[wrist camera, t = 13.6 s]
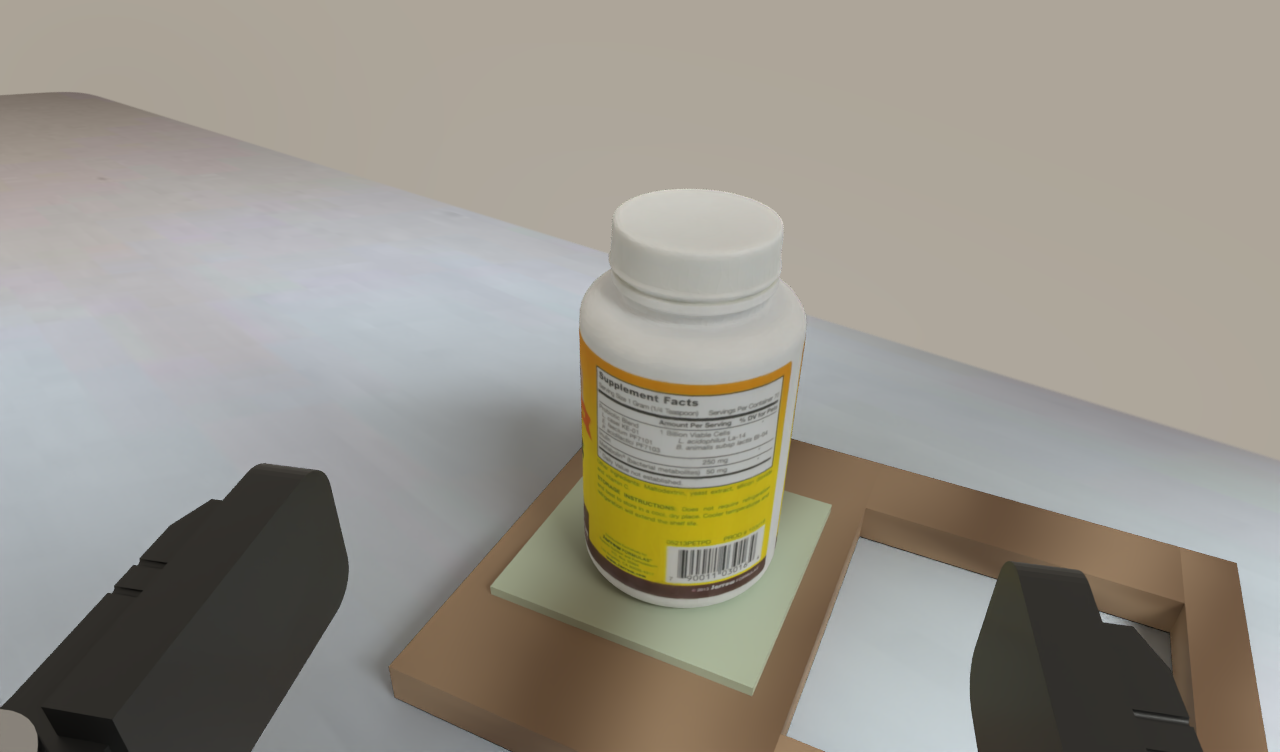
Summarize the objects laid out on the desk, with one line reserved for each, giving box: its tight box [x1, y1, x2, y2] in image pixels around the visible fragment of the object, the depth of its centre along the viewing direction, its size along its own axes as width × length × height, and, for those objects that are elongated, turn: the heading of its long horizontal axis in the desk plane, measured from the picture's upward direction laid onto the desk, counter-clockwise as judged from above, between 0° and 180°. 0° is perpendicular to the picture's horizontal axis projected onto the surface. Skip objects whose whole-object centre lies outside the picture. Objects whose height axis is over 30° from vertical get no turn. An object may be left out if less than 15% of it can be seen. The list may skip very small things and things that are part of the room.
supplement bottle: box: [579, 189, 807, 608], centre depth 23 cm, size 6×6×10 cm
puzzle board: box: [389, 439, 1268, 752], centre depth 24 cm, size 20×14×2 cm
